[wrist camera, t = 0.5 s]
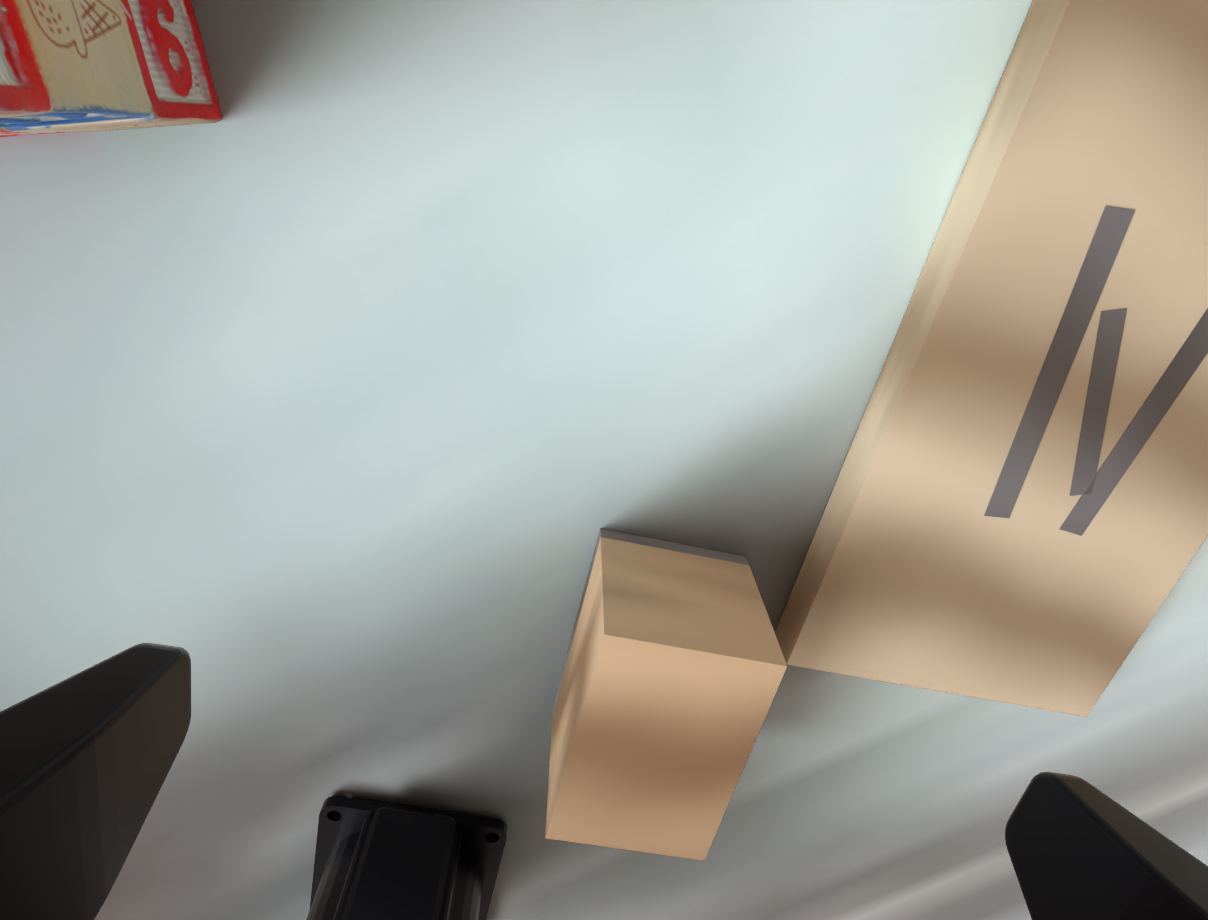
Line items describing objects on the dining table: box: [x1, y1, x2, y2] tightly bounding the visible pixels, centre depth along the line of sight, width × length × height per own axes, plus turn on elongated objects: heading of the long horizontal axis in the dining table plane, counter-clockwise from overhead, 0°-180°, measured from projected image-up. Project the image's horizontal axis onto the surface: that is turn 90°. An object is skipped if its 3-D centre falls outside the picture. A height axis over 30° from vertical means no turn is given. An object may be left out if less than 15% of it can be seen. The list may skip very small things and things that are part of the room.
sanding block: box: [545, 528, 787, 861], centre depth 21 cm, size 7×4×5 cm, turn 167°
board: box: [775, 0, 1208, 717], centre depth 19 cm, size 18×10×2 cm, turn 167°
